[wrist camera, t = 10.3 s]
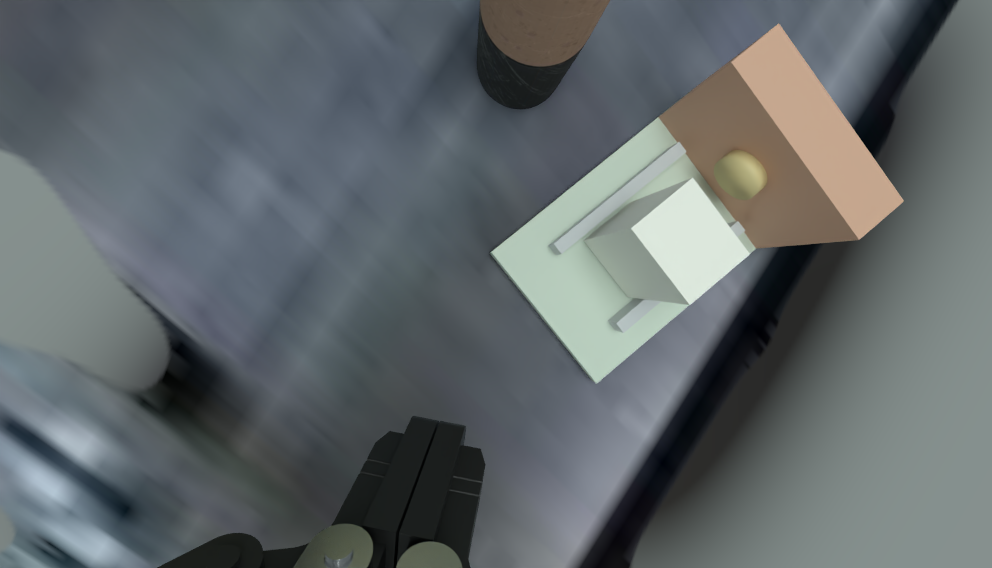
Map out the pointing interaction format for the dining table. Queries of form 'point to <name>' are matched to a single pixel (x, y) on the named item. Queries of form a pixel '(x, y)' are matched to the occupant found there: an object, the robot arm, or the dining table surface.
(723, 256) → the white rectangular block
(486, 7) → the travel mug
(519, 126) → the dining table surface
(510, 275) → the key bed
